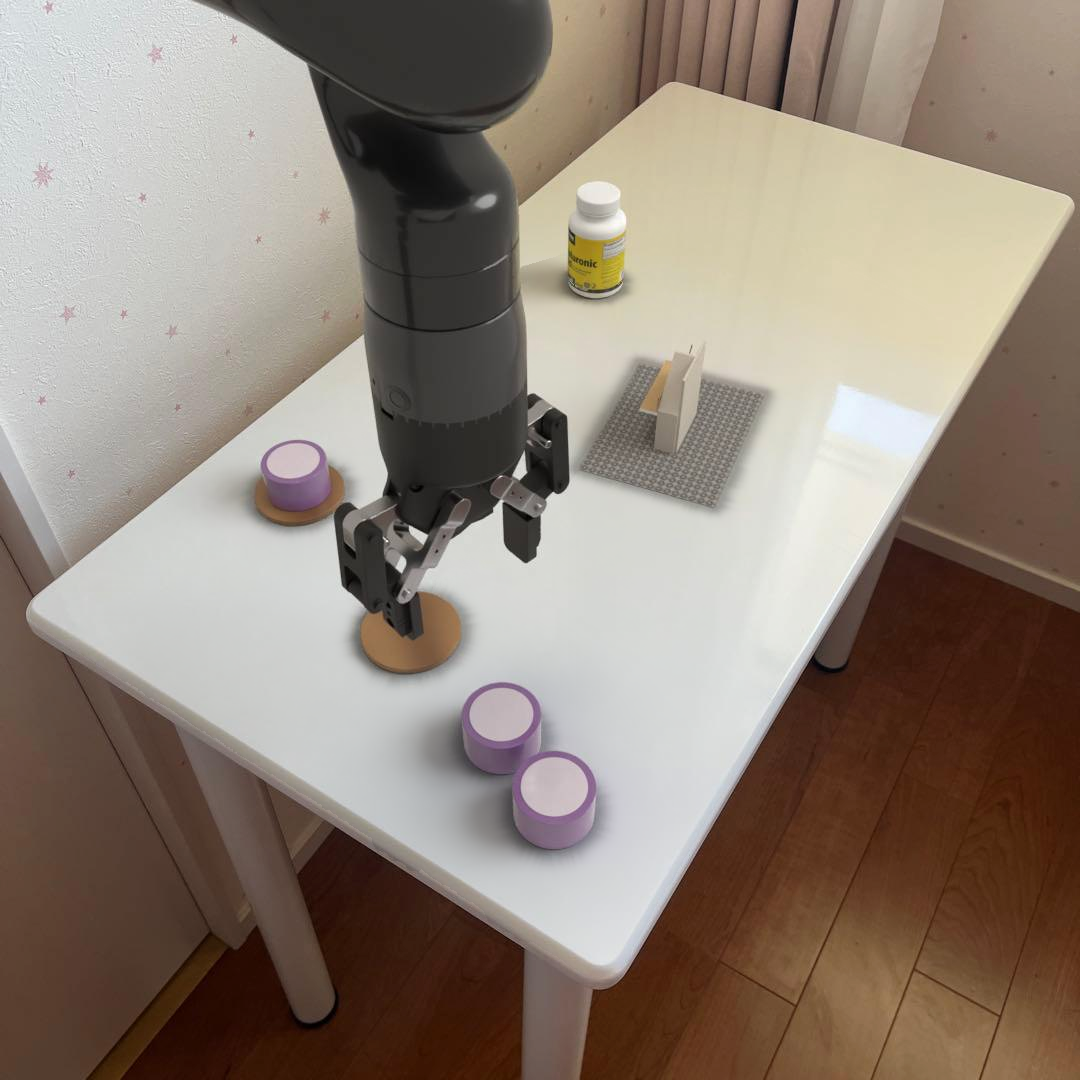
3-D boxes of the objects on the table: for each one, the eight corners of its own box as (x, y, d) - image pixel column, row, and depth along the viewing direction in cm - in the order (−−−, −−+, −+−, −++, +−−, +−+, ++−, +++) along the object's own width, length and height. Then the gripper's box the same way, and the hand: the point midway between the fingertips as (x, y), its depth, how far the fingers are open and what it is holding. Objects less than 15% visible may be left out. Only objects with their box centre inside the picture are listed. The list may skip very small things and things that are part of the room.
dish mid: (498, 789, 69) (496, 762, 67) (448, 738, 71) (445, 711, 69) (557, 743, 71) (557, 716, 69) (506, 695, 74) (505, 668, 71)
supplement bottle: (555, 280, 107) (556, 188, 100) (599, 262, 110) (603, 170, 102) (590, 307, 104) (593, 213, 97) (634, 287, 107) (641, 194, 99)
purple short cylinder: (290, 521, 84) (283, 492, 82) (255, 487, 87) (247, 458, 84) (344, 490, 86) (339, 462, 84) (308, 458, 89) (302, 430, 87)
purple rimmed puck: (551, 865, 65) (551, 840, 63) (496, 809, 68) (494, 783, 66) (611, 814, 68) (613, 788, 65) (556, 762, 70) (556, 735, 68)
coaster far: (287, 539, 84) (285, 535, 83) (238, 492, 87) (236, 487, 87) (362, 496, 87) (361, 492, 86) (312, 452, 90) (311, 447, 90)
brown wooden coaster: (401, 691, 74) (400, 687, 74) (341, 630, 77) (340, 626, 77) (481, 636, 77) (481, 631, 77) (420, 580, 81) (419, 575, 80)
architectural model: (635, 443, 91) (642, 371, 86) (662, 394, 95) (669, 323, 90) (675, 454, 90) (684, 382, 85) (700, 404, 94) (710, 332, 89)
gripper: (508, 277, 58) (513, 499, 69) (277, 394, 51) (327, 618, 63) (610, 340, 54) (597, 564, 66) (375, 476, 47) (408, 698, 59)
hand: (465, 590), depth 64 cm, fingers open, 8 cm apart
